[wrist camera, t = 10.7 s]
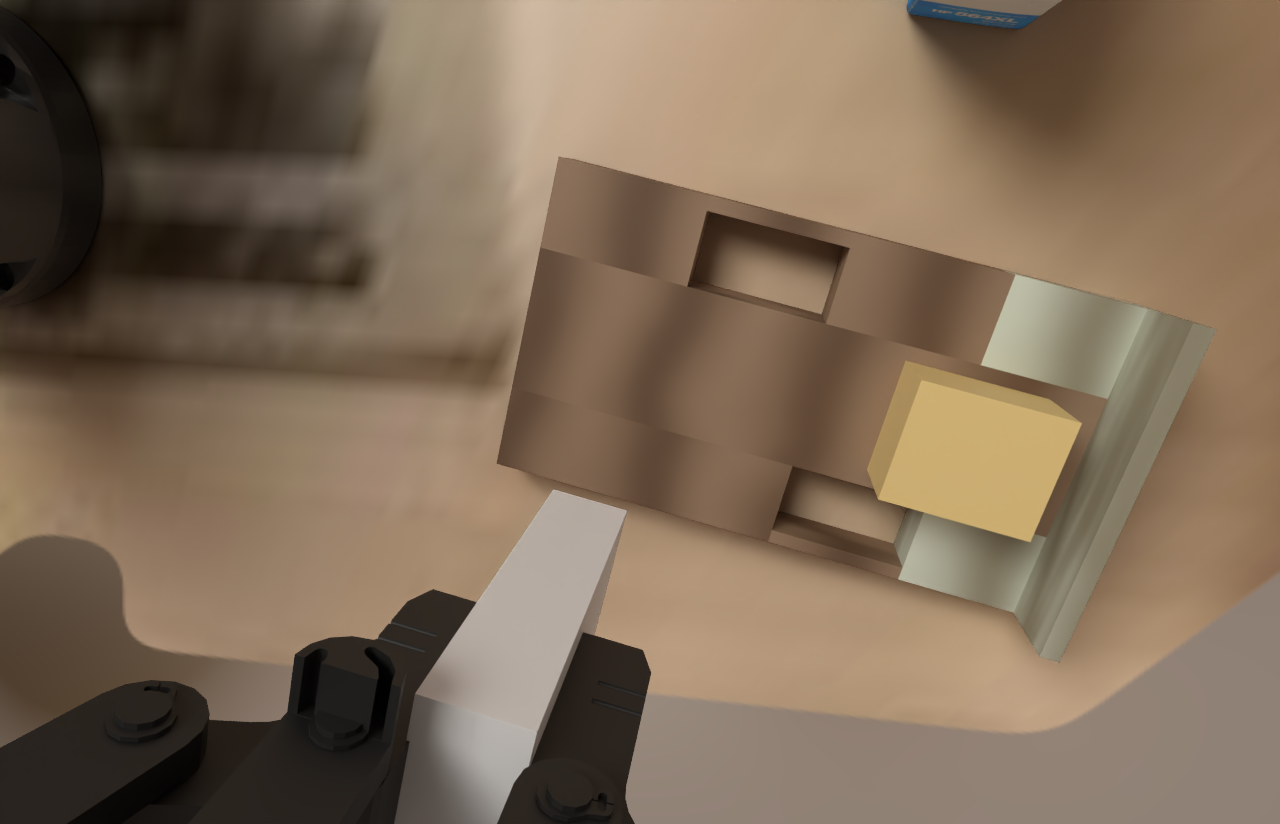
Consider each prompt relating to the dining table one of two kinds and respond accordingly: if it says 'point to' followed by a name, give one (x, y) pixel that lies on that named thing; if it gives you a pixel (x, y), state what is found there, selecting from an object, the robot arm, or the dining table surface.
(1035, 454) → the ochre block
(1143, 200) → the dining table surface
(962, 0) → the ink box
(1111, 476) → the board
